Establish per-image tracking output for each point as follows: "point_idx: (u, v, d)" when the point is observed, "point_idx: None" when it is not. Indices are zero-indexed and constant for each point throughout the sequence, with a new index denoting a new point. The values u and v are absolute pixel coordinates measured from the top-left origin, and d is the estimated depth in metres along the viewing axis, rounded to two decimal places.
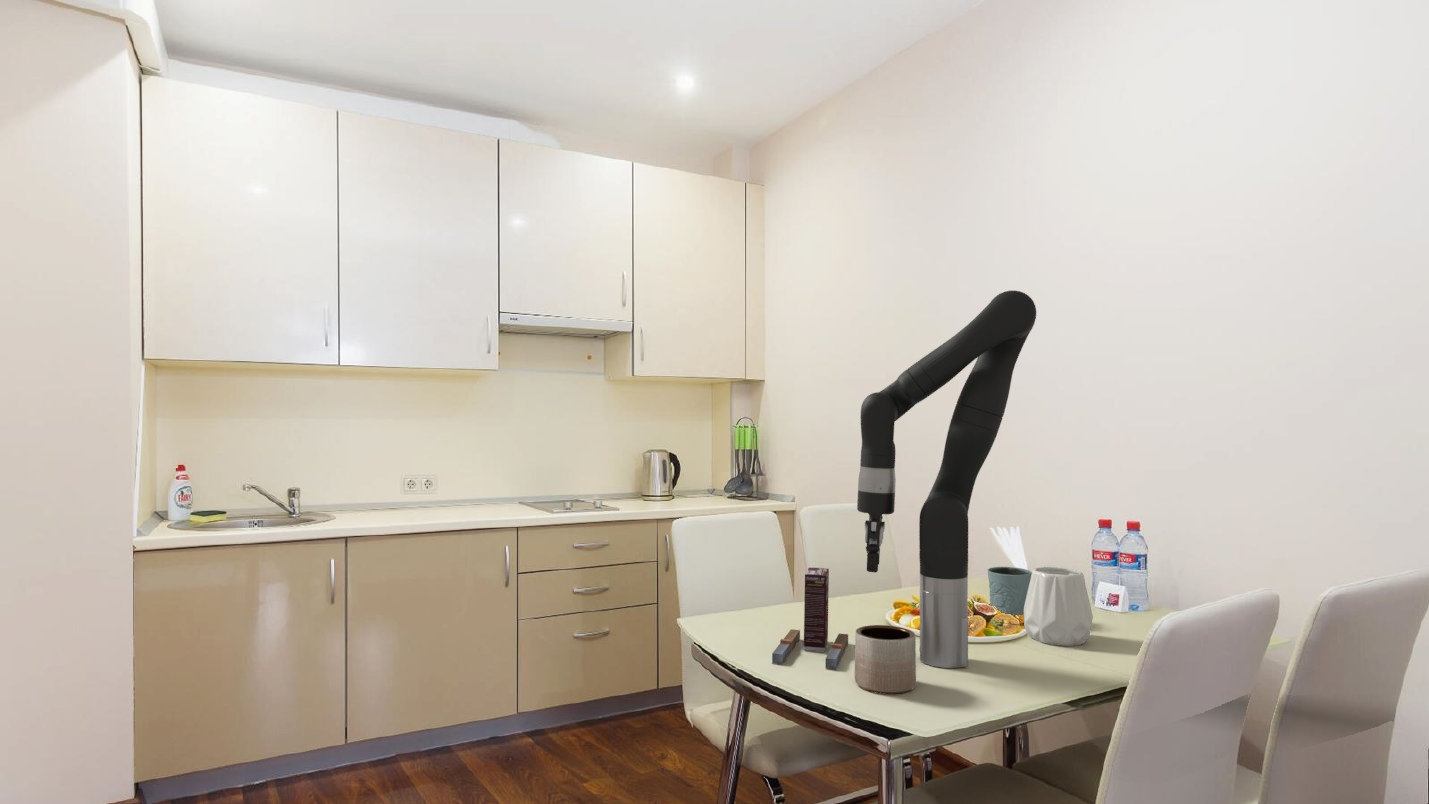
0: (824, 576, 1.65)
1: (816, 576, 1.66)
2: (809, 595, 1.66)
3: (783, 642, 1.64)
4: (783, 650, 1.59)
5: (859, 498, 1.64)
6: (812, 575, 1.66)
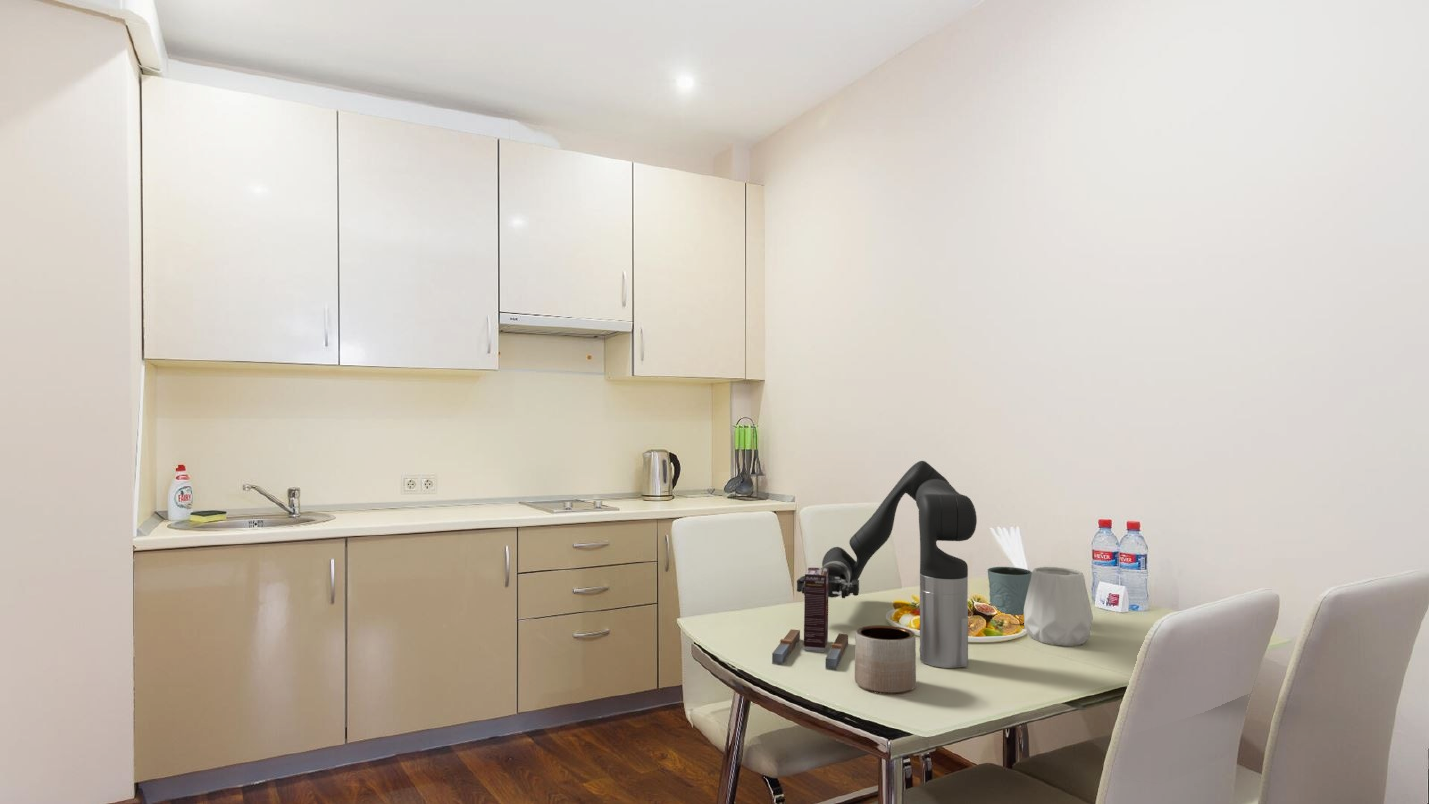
0: (824, 576, 1.65)
1: (816, 576, 1.66)
2: (809, 595, 1.66)
3: (783, 642, 1.64)
4: (783, 650, 1.59)
5: (840, 566, 1.93)
6: (812, 575, 1.66)
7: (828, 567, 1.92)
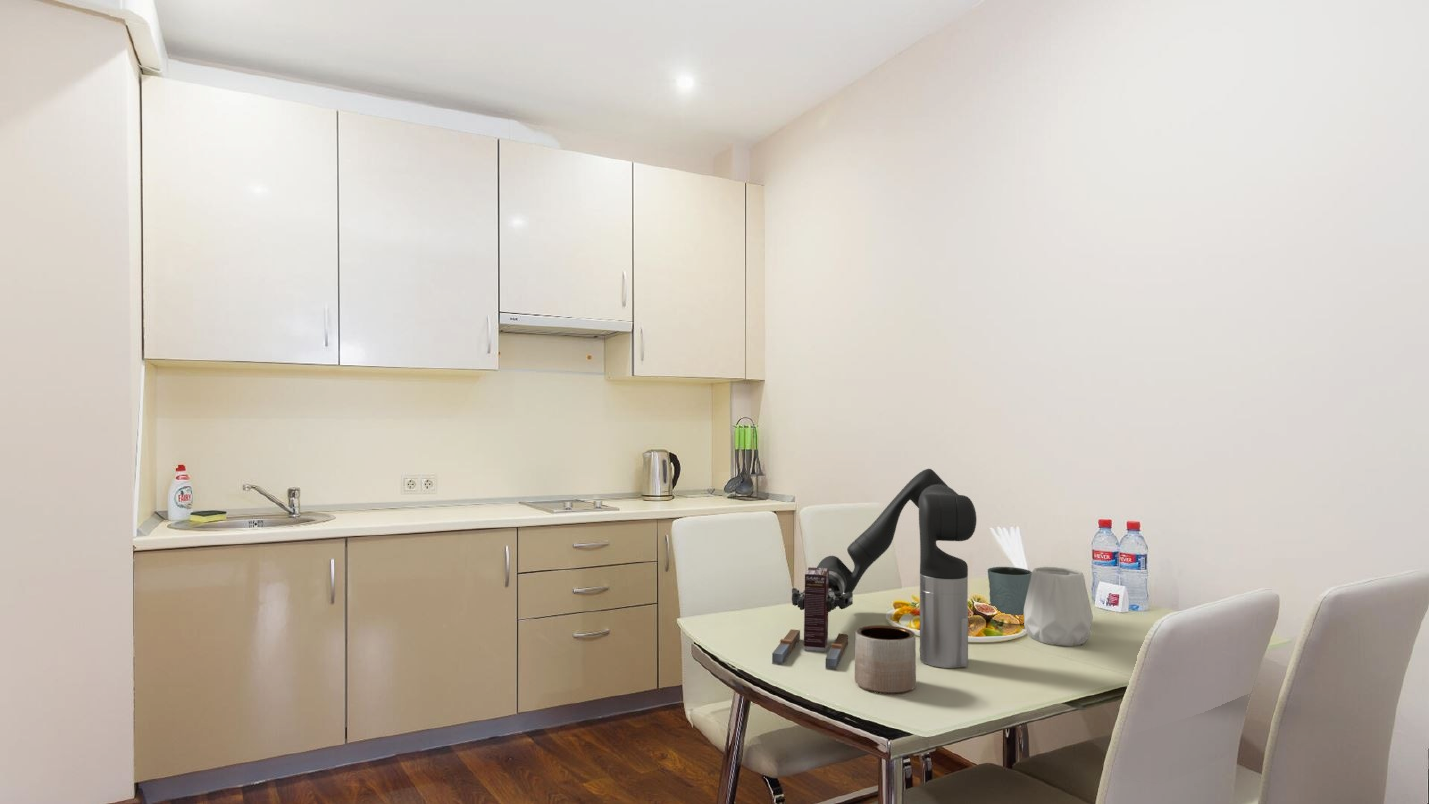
0: (824, 576, 1.66)
1: (816, 576, 1.66)
2: (809, 595, 1.66)
3: (783, 642, 1.64)
4: (783, 650, 1.59)
5: (833, 577, 1.81)
6: (812, 575, 1.66)
7: None
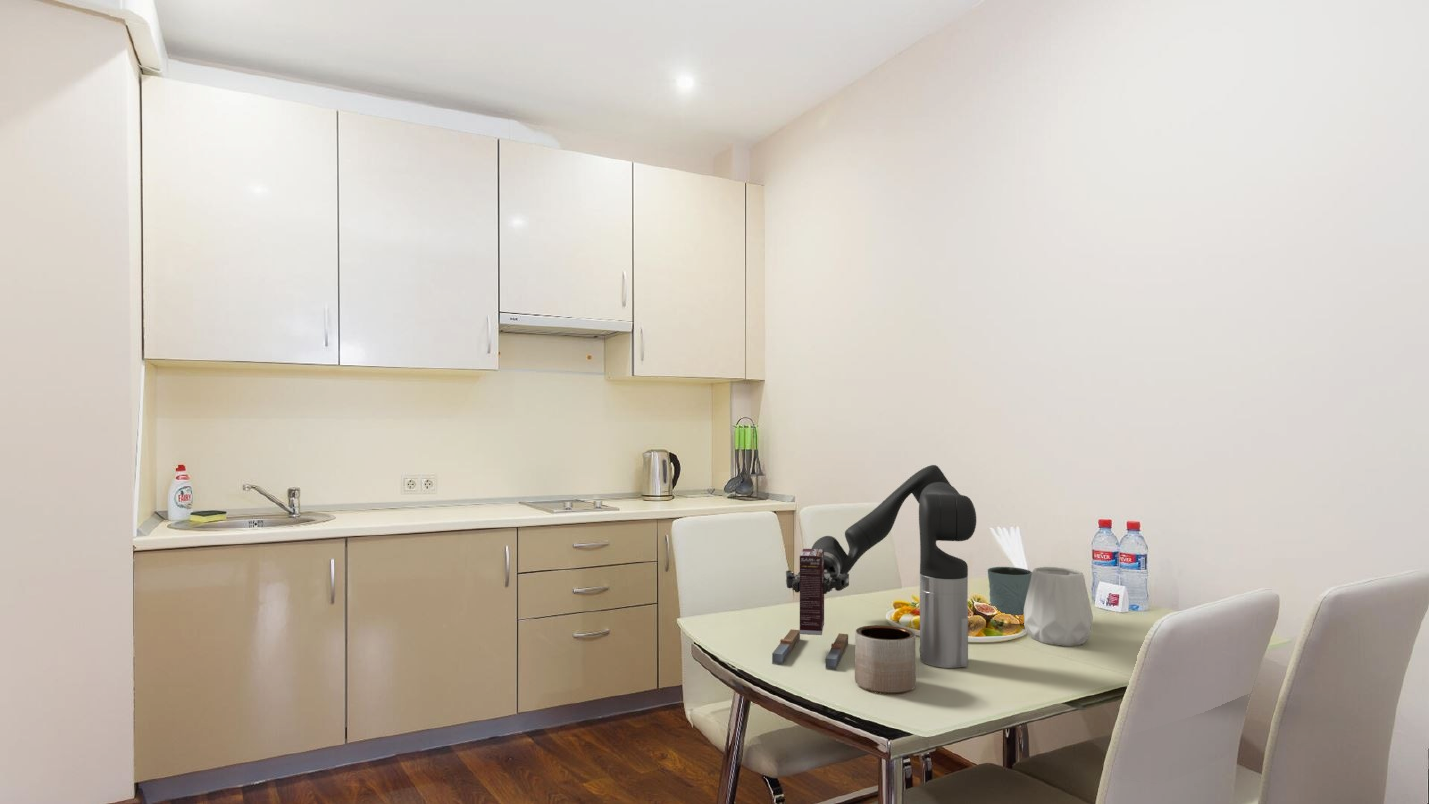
0: (819, 557, 1.60)
1: (811, 557, 1.60)
2: (804, 577, 1.60)
3: (783, 642, 1.64)
4: (783, 650, 1.59)
5: (828, 558, 1.76)
6: (807, 556, 1.60)
7: None
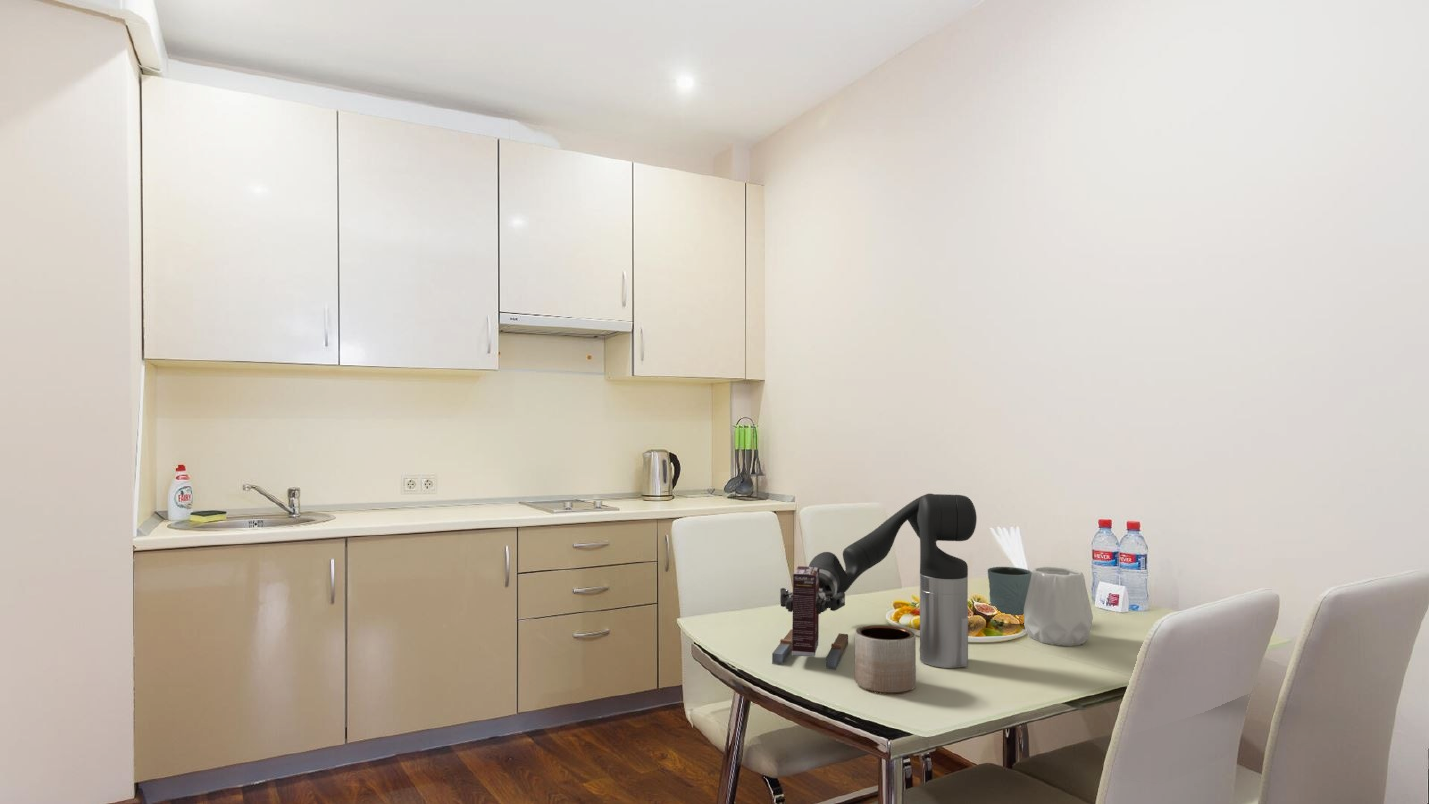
0: (814, 576, 1.55)
1: (805, 576, 1.55)
2: (798, 596, 1.55)
3: (783, 642, 1.64)
4: (783, 650, 1.59)
5: (824, 576, 1.70)
6: (801, 575, 1.55)
7: None
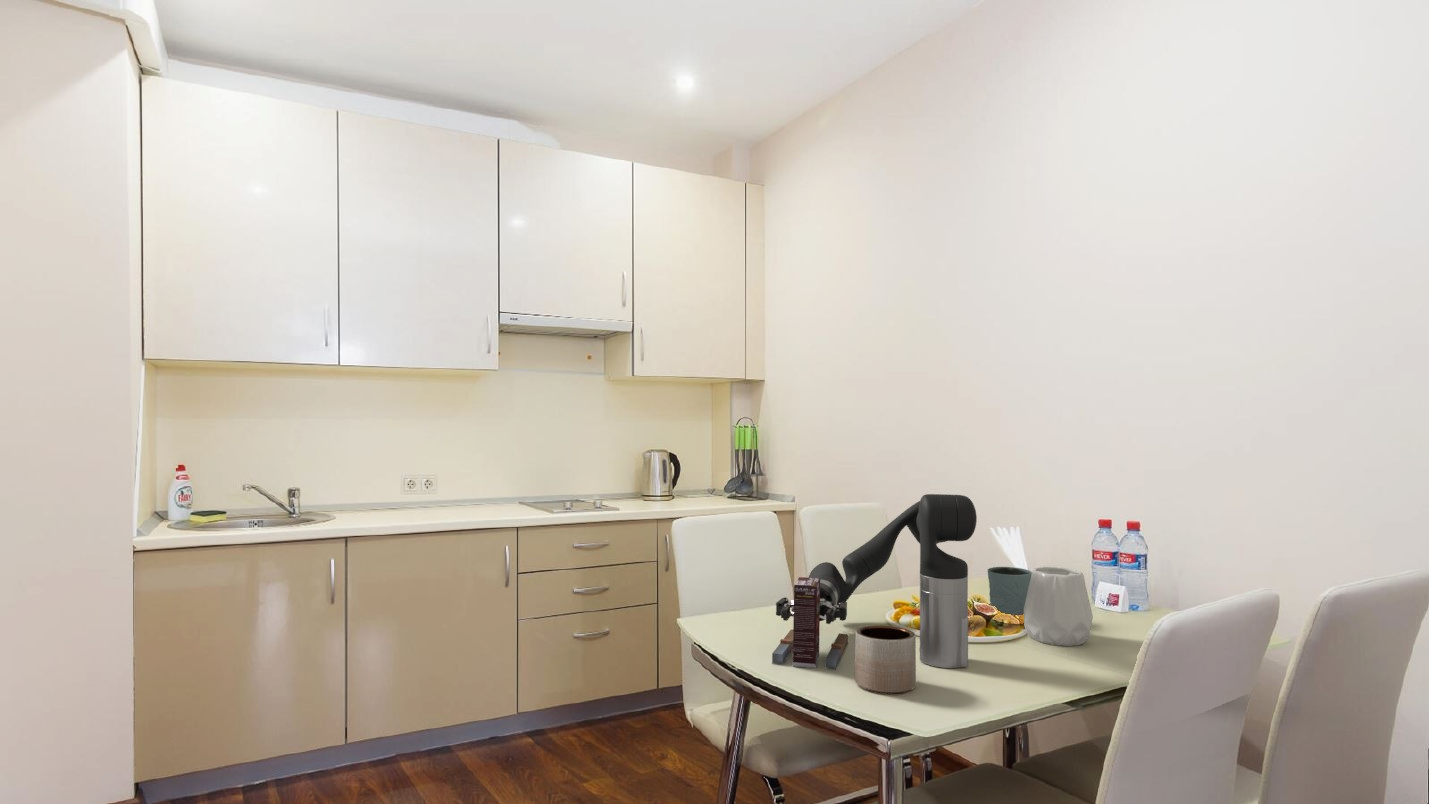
0: (814, 587, 1.55)
1: (806, 587, 1.55)
2: (799, 607, 1.55)
3: (783, 642, 1.64)
4: (783, 650, 1.59)
5: (825, 586, 1.71)
6: (802, 586, 1.55)
7: None
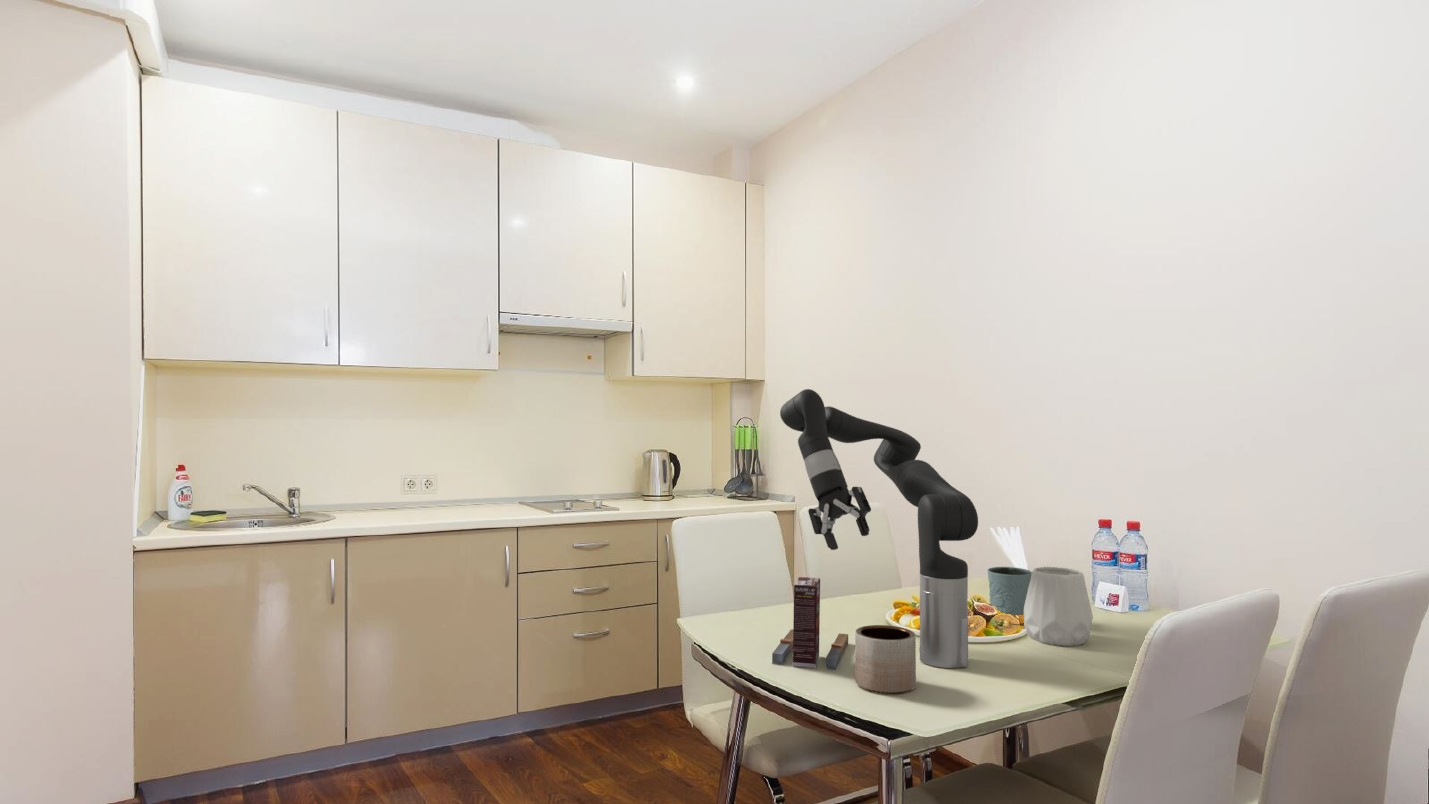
0: (814, 587, 1.55)
1: (806, 587, 1.55)
2: (799, 607, 1.55)
3: (783, 642, 1.64)
4: (783, 650, 1.59)
5: None
6: (802, 586, 1.55)
7: None
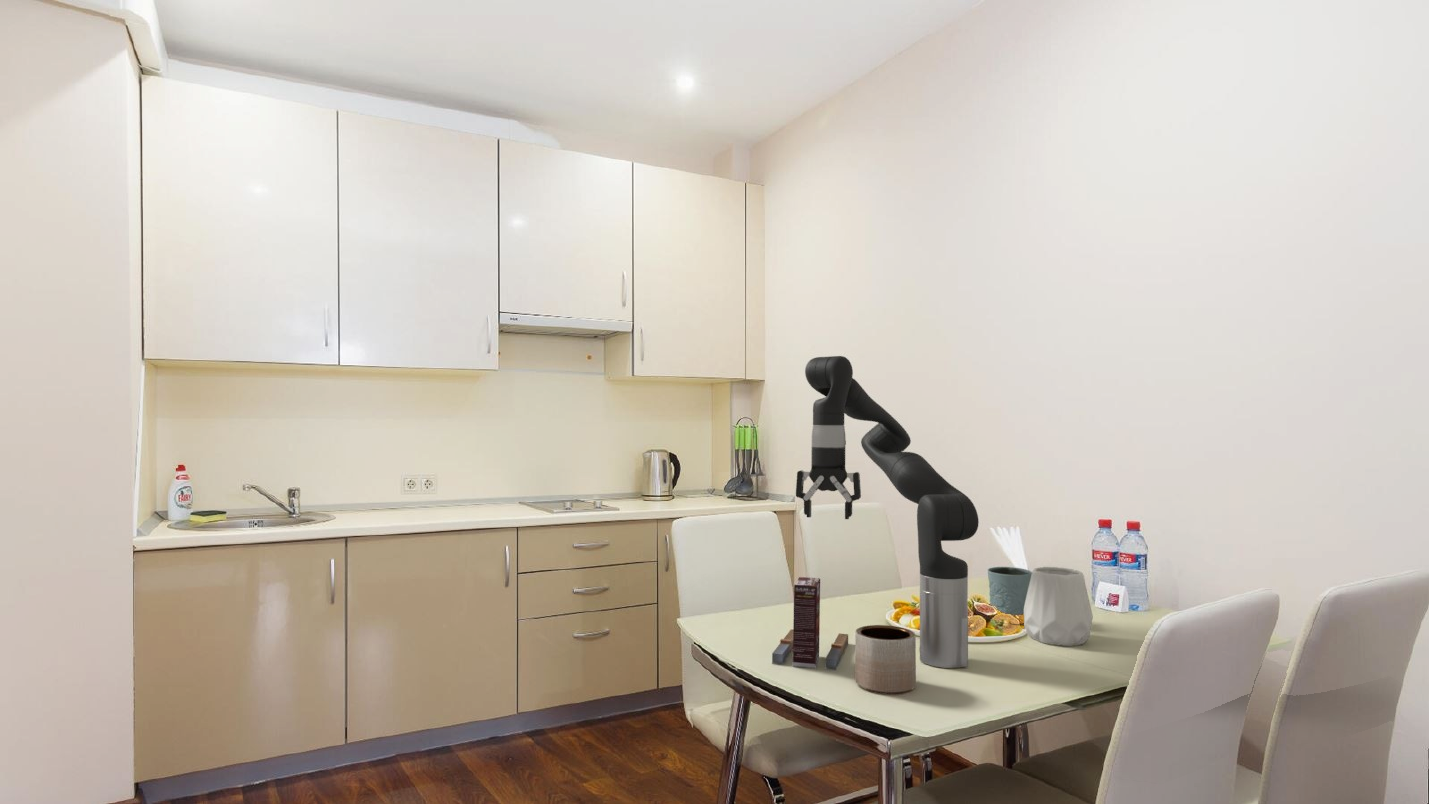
0: (814, 587, 1.55)
1: (806, 587, 1.55)
2: (799, 607, 1.55)
3: (783, 642, 1.64)
4: (783, 650, 1.59)
5: None
6: (802, 586, 1.55)
7: None
